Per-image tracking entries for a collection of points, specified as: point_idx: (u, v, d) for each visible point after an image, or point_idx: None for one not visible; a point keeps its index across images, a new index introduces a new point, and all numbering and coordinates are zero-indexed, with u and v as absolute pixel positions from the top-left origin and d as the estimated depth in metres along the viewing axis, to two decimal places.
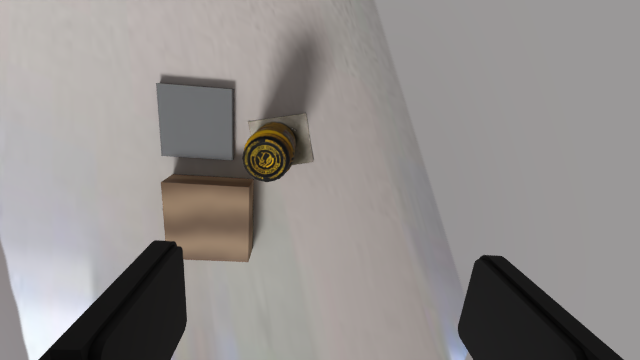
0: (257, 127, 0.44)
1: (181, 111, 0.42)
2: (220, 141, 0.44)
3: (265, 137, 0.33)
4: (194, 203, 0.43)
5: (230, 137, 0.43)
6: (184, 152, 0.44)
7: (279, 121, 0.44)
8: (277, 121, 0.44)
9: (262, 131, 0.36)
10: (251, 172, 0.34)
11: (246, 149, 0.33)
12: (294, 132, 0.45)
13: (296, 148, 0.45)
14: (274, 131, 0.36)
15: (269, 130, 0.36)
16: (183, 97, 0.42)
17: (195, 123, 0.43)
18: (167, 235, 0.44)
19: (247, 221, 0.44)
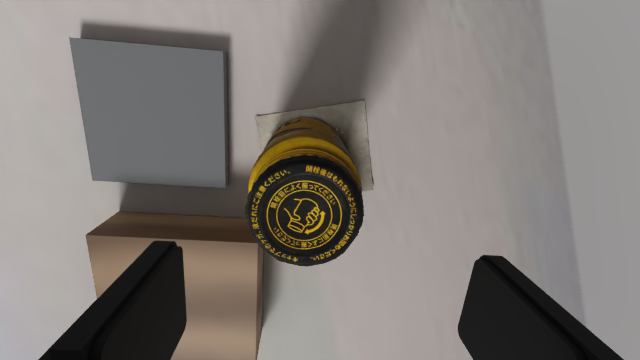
0: (272, 127, 0.24)
1: (124, 96, 0.21)
2: (202, 153, 0.23)
3: (305, 160, 0.13)
4: None
5: (221, 146, 0.23)
6: (134, 174, 0.23)
7: (314, 115, 0.23)
8: (310, 115, 0.23)
9: (292, 140, 0.15)
10: (268, 246, 0.13)
11: (255, 191, 0.13)
12: (341, 136, 0.24)
13: None
14: (320, 140, 0.15)
15: (309, 138, 0.15)
16: (125, 68, 0.21)
17: (153, 119, 0.22)
18: None
19: (254, 302, 0.24)
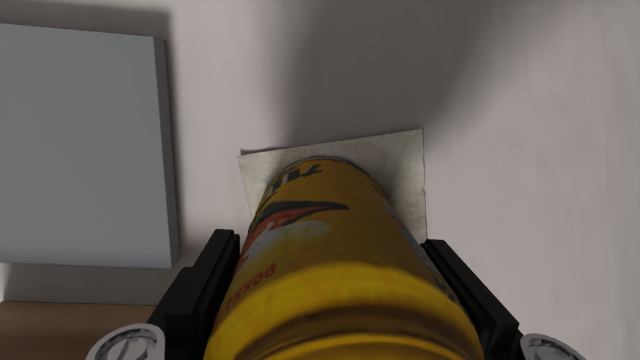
0: (267, 172, 0.14)
1: None
2: (129, 215, 0.13)
3: None
4: None
5: (161, 202, 0.13)
6: (13, 249, 0.14)
7: (337, 154, 0.14)
8: (330, 154, 0.14)
9: (316, 277, 0.05)
10: None
11: None
12: (380, 186, 0.15)
13: None
14: (391, 273, 0.06)
15: (360, 267, 0.06)
16: None
17: (36, 159, 0.12)
18: None
19: None
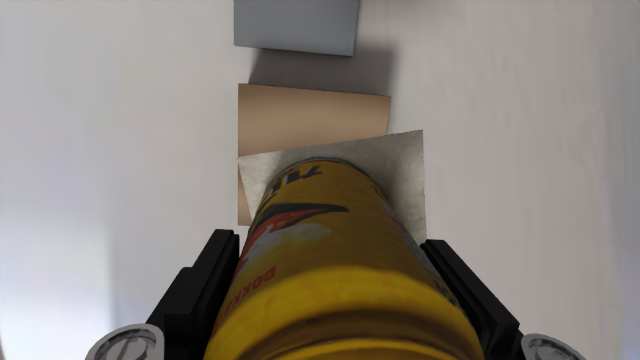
0: (267, 174, 0.14)
1: None
2: (336, 19, 0.25)
3: None
4: (292, 125, 0.24)
5: (354, 12, 0.25)
6: (272, 39, 0.25)
7: (336, 155, 0.14)
8: (330, 155, 0.14)
9: (315, 281, 0.05)
10: None
11: None
12: (380, 187, 0.14)
13: None
14: (392, 277, 0.06)
15: (360, 271, 0.05)
16: None
17: None
18: (242, 184, 0.26)
19: None
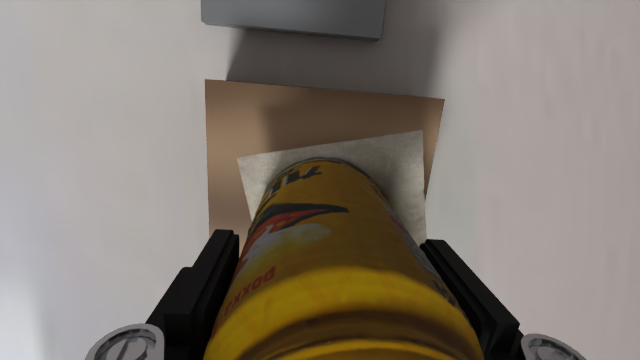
0: (266, 174, 0.14)
1: None
2: None
3: None
4: (291, 144, 0.16)
5: None
6: (260, 12, 0.17)
7: (336, 155, 0.14)
8: (330, 155, 0.14)
9: (315, 281, 0.05)
10: None
11: None
12: (380, 188, 0.15)
13: None
14: (391, 277, 0.06)
15: (359, 272, 0.05)
16: None
17: None
18: None
19: None
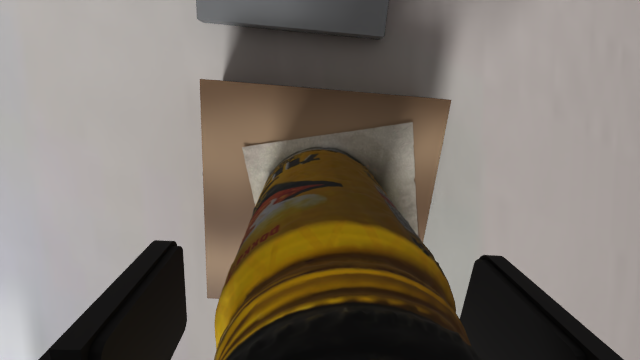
0: (269, 162, 0.15)
1: None
2: None
3: (365, 337, 0.04)
4: None
5: None
6: (258, 9, 0.16)
7: (334, 145, 0.15)
8: (328, 145, 0.15)
9: (312, 232, 0.07)
10: None
11: None
12: (374, 176, 0.16)
13: None
14: (375, 230, 0.07)
15: (349, 225, 0.07)
16: None
17: None
18: (211, 238, 0.16)
19: (428, 200, 0.16)
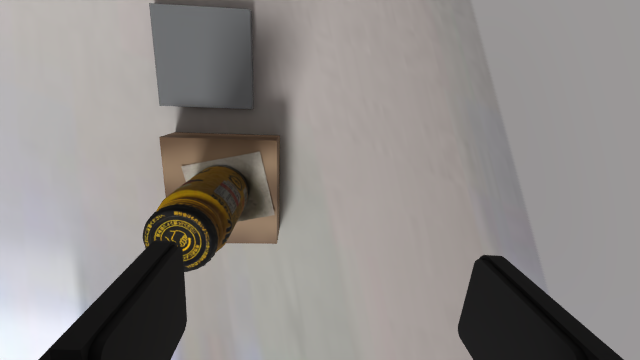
0: (194, 173, 0.32)
1: (183, 42, 0.32)
2: (236, 83, 0.33)
3: (174, 208, 0.21)
4: None
5: (249, 77, 0.33)
6: (189, 99, 0.33)
7: (224, 163, 0.32)
8: (221, 164, 0.32)
9: (179, 192, 0.24)
10: None
11: (146, 227, 0.21)
12: (246, 177, 0.33)
13: (250, 198, 0.33)
14: (197, 191, 0.24)
15: (190, 190, 0.24)
16: (185, 23, 0.31)
17: (202, 59, 0.32)
18: None
19: (275, 188, 0.33)
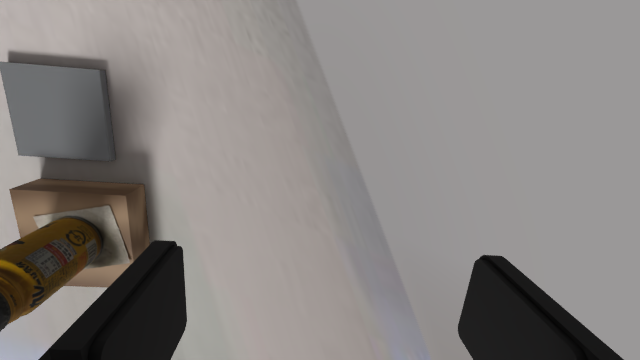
0: (47, 222, 0.34)
1: (36, 98, 0.33)
2: (92, 137, 0.34)
3: None
4: None
5: (104, 132, 0.34)
6: (47, 151, 0.34)
7: (76, 215, 0.34)
8: (73, 215, 0.34)
9: None
10: None
11: None
12: (99, 228, 0.34)
13: (105, 247, 0.35)
14: (1, 260, 0.25)
15: None
16: (36, 81, 0.32)
17: (57, 114, 0.33)
18: None
19: (129, 238, 0.35)
